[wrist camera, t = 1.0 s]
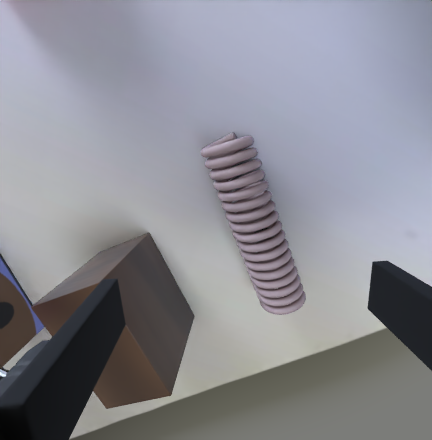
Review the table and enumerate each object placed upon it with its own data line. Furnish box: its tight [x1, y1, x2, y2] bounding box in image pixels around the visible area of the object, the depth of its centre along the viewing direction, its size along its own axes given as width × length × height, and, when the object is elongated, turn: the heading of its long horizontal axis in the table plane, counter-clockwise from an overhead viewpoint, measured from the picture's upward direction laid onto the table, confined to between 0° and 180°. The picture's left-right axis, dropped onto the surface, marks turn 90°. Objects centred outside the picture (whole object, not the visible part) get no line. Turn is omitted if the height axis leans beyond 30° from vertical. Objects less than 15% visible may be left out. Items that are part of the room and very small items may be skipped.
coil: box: [201, 132, 306, 315], centre depth 24 cm, size 5×5×18 cm
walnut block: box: [31, 233, 194, 409], centre depth 25 cm, size 7×12×10 cm, turn 24°
